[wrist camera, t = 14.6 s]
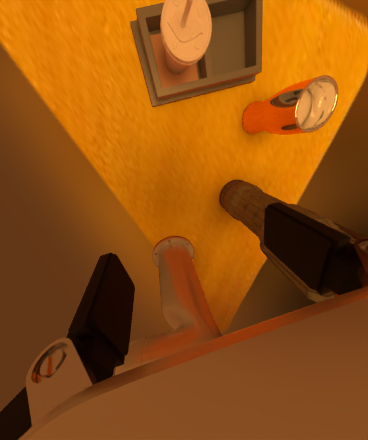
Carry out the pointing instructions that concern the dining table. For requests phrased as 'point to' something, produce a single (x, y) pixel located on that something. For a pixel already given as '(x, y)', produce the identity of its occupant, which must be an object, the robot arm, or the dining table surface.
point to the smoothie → (185, 32)
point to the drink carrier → (213, 57)
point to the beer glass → (294, 108)
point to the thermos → (254, 219)
